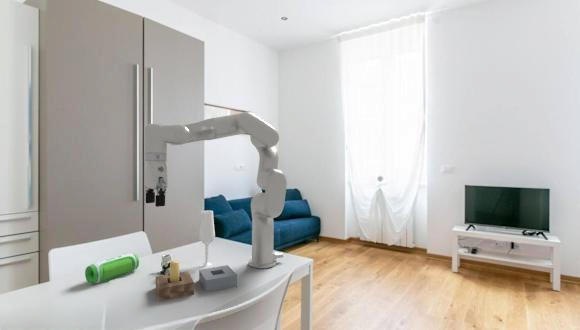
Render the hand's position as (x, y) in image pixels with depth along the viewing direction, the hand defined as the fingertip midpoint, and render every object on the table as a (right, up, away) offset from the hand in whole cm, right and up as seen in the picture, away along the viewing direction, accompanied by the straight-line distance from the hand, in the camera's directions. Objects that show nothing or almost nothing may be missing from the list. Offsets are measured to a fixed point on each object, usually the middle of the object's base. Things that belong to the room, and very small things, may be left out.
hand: (155, 204), depth 113 cm
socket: (+23, -30, 0) cm, 38 cm away
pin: (+10, -29, -7) cm, 31 cm away
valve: (+1, -30, +10) cm, 31 cm away
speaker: (-19, -30, +7) cm, 36 cm away
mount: (+10, -30, -7) cm, 32 cm away
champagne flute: (+14, -30, +19) cm, 38 cm away
